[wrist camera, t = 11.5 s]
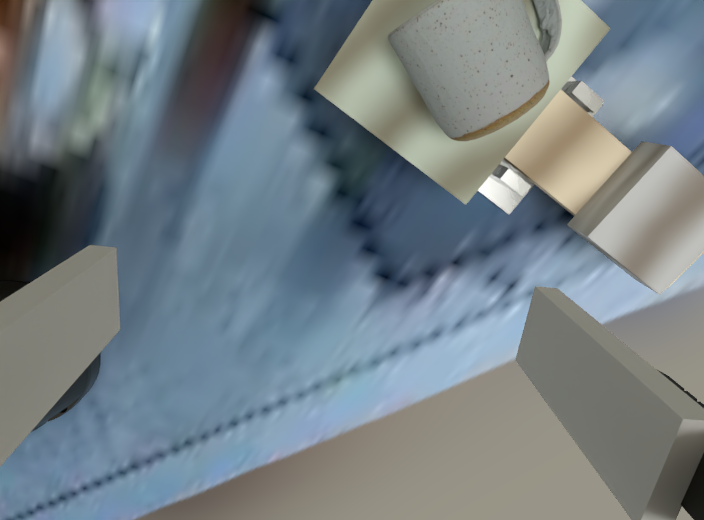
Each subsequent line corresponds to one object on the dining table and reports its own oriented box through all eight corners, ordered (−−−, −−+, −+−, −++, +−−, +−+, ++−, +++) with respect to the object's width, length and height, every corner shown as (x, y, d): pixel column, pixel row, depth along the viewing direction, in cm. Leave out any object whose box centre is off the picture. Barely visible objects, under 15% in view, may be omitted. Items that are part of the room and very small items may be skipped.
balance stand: (440, 161, 43) (459, 174, 36) (530, 46, 40) (570, 36, 33) (504, 211, 44) (534, 232, 38) (595, 104, 41) (646, 106, 35)
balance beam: (315, 89, 35) (312, 88, 30) (444, -106, 31) (463, -140, 26) (617, 319, 42) (651, 347, 37) (752, 185, 38) (808, 197, 34)
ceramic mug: (440, 144, 34) (470, 157, 27) (379, 41, 31) (393, 24, 24) (571, 55, 32) (641, 43, 25) (517, -60, 30) (578, -111, 23)
